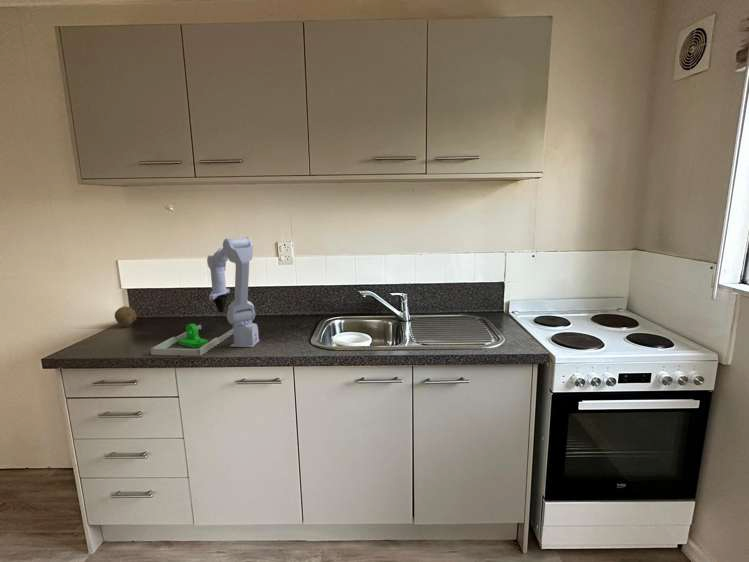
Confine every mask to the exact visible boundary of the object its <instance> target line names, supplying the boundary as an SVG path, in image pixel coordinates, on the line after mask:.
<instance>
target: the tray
mask: <svg viewBox="0 0 749 562" xmlns="http://www.w3.org/2000/svg"><path fill="white" fill-rule="evenodd" d="M175 337H176V336H172V337H170V338H168V339H166V340H164V341H163V342H161V343H159V344H157V345H155V346H153V347H151V348H150V355H151V356H178V355H180V356H185V357H186V356H187V357H189V356H190V357H201V356H203V355H204V354H206V353H207V352H209V351H211V350H212V349H213V348H215V347H216V346H218V345H219V344H220V343H219V340H218V338H219V337H214V338H212V339H211V340H210V341H208V343H207V344H205V345H204V346H202V347H200V348H173V347H172V348H169V347H171V346H173V345H175V344H176V343H177V342H176V338H175ZM174 343H175V344H174ZM172 344H173V345H172ZM217 344H218V345H217ZM214 346H215V347H214ZM211 348H212V349H211ZM208 350H209V351H208ZM202 354H203V355H202Z"/></svg>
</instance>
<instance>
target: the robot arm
mask: <svg viewBox="0 0 749 562" xmlns="http://www.w3.org/2000/svg"><path fill="white" fill-rule="evenodd" d="M252 242H253V241H252V239H250V237H248V236H245V237H237V238H236V237H235V238H224V240H223V242H222V247H219V248H218V249H217V251H216V252H214V254H213V255H211V254H210V255H208V256H207V257H206V258H207V259H206V262H207V266H208V268H209V270H210V280H211V290H212V291H210V292H209V293H210V294H209V295H208V299H209V301H212V302H213V303H214V304H215V306H216V309H217V312H218V313H224V312H225V309H226V302H227V300H228V298H229V295H228V294H229V293H230V288H227V287H226V286H227V285H226V284H227V283H226V276H225V275H226V273H225V272H226V265H227V261H229V262H230V263H234V265H235V275H234V276H235V278H234V282H235V283H234V300H233V301H232V302H231V303H230V304H229V305H228V306H227V312H226V318H227V321H228V323H229V324H230V325H232V329H233V334H232V335H233V342H232V343H231V344H230V345H229V347H231V348H232V347H233V348H234V347H235V348H253V347H254V346H256V344H258V343H259V342H260V341H261V340H260V339H259V337H260V336H259V327H258V324H257V323H253V321H254V320H255V317H256V311H255V305H254V304H253V303H252V302H251V301H249V300H248V297H249V276H250V275H249V274H250V272H249V271H250V261H252V260H253V255H254V254H253V251H254V250H253V249H254V246H253V245H254V244H253V243H252Z"/></svg>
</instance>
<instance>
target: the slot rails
mask: <svg viewBox="0 0 749 562" xmlns="http://www.w3.org/2000/svg"><path fill="white" fill-rule="evenodd" d="M196 326H197V328H198V331H199V329H200V330H201V329H202V325H201V324H198V325H196ZM230 335H231V336H232V335H233V328H231V329H230V330H228V331H227V332H225V333H223V334H222V335H220V336H218V337H217V338H218V340H219V344H221V343H222V342H223V341H225V340H226V339H228V338H229V337H231V336H230ZM174 337H175V338H176V343H178V340H180V339H183V338H186V337H187V334H186V331H184V332H183V333H181V334H179V335H177V336H174ZM227 337H228V338H227ZM224 339H225V340H224Z"/></svg>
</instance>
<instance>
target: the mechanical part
mask: <svg viewBox="0 0 749 562" xmlns="http://www.w3.org/2000/svg"><path fill="white" fill-rule="evenodd" d="M185 332H186V334H187V337H185V338H183V339H180V340H178V342H177V344H178V345H180V344H181V346H183V345H185V346H184V347H187V346H188V348H190V347H191V348H190V349H199V348H198V347H202V346H204V345H205V344H207V343H208V342H209V340H208V339H204V338H200V336H199V335H200V334H199V330H198V328H197V325H196V324H195V323H189V324H187V325H186V327H185Z"/></svg>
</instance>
